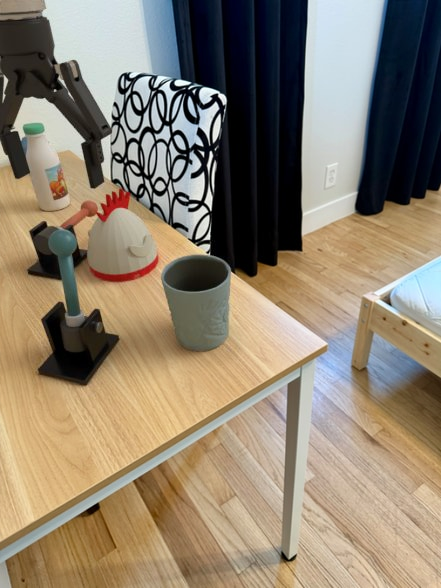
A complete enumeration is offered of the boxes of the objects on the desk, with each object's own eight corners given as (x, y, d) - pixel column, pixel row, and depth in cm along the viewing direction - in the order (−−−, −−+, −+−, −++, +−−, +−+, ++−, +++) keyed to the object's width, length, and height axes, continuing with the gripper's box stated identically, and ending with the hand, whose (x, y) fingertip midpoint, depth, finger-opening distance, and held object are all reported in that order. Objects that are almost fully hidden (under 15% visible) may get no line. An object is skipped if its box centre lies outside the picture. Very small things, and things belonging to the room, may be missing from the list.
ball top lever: (57, 223, 59) (35, 233, 55) (84, 227, 58) (64, 237, 54) (75, 333, 67) (57, 349, 64) (99, 338, 66) (83, 354, 63)
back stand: (57, 249, 93) (47, 215, 88) (90, 254, 90) (82, 219, 86) (27, 274, 85) (14, 238, 80) (62, 280, 83) (51, 244, 78)
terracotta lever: (87, 213, 98) (82, 195, 95) (104, 215, 96) (100, 197, 94) (37, 253, 84) (30, 233, 81) (56, 256, 83) (50, 236, 80)
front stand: (76, 330, 71) (64, 291, 66) (120, 339, 69) (111, 300, 64) (38, 374, 63) (21, 333, 59) (86, 386, 61) (73, 345, 56)
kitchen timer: (172, 256, 89) (164, 187, 80) (125, 289, 80) (110, 216, 71) (123, 238, 95) (111, 173, 86) (75, 268, 86) (55, 198, 77)
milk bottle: (45, 214, 106) (20, 131, 94) (35, 204, 111) (10, 124, 99) (75, 205, 110) (54, 125, 98) (64, 196, 115) (44, 118, 103)
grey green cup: (243, 340, 68) (244, 278, 61) (186, 364, 64) (179, 301, 57) (213, 306, 75) (209, 247, 68) (159, 326, 71) (150, 265, 64)
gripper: (120, 13, 53) (143, 179, 65) (-39, 13, 59) (10, 164, 72) (86, 19, 47) (118, 199, 60) (-86, 18, 54) (-24, 180, 66)
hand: (59, 180), depth 66 cm, fingers open, 13 cm apart
